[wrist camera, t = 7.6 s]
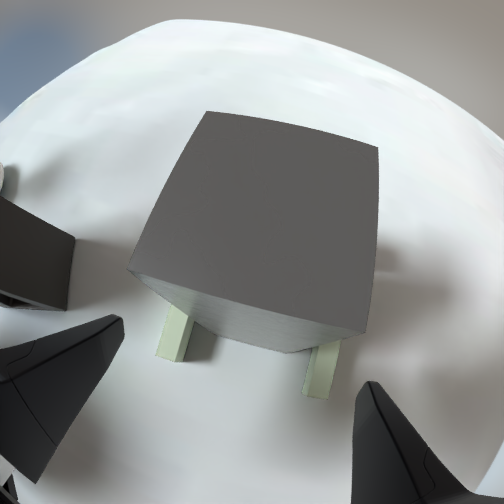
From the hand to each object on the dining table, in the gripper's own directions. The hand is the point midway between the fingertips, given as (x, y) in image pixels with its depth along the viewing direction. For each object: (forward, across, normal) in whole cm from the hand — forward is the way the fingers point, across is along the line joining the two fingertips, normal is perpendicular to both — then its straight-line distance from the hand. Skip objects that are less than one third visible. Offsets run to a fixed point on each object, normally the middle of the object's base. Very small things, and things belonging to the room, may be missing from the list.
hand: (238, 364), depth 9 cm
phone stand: (+6, +19, +5) cm, 20 cm away
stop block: (+8, 0, +3) cm, 8 cm away
